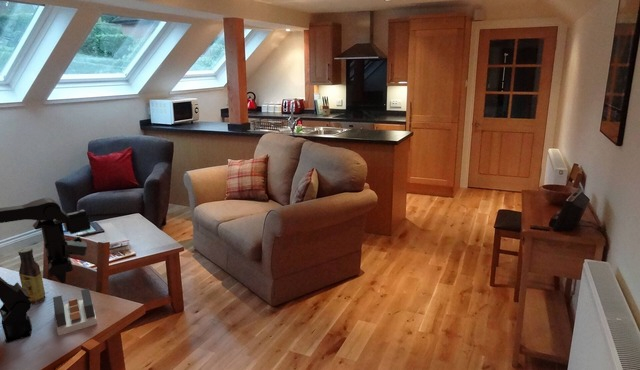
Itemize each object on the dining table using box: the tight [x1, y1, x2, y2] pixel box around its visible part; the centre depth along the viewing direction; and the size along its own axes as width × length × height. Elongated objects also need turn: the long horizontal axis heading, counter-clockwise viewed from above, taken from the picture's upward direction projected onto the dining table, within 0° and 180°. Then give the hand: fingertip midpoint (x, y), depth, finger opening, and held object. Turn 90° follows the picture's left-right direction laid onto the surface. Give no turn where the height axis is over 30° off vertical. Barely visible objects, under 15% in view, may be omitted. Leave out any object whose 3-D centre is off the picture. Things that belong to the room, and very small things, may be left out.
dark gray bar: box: [80, 287, 96, 319], centre depth 148 cm, size 2×12×4 cm, turn 32°
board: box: [56, 299, 98, 336], centre depth 147 cm, size 15×11×2 cm
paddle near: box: [70, 311, 81, 320], centre depth 143 cm, size 3×1×2 cm, turn 122°
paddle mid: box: [69, 305, 79, 313], centre depth 146 cm, size 3×1×2 cm, turn 122°
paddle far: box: [67, 297, 79, 307], centre depth 150 cm, size 3×1×2 cm, turn 122°
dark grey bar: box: [52, 295, 66, 328], centre depth 144 cm, size 2×12×4 cm, turn 32°
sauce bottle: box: [18, 246, 46, 305], centre depth 155 cm, size 7×6×20 cm
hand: (63, 282), depth 145 cm, fingers closed
